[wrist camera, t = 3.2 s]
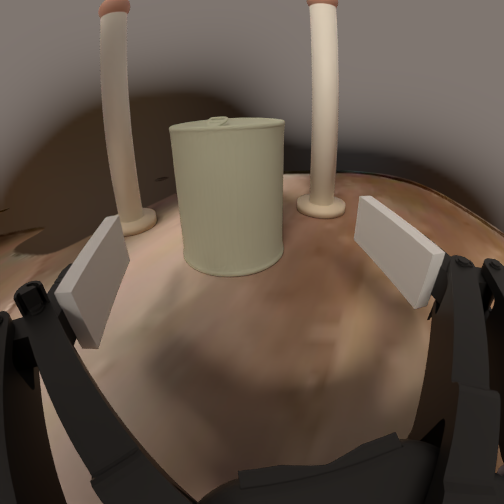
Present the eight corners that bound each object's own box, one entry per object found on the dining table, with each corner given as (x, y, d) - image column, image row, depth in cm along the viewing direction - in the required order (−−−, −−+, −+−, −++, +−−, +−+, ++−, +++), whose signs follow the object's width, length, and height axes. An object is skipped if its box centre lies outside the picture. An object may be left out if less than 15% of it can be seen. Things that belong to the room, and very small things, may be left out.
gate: (103, 238, 29) (81, -3, 15) (117, 218, 34) (99, 10, 20) (352, 217, 32) (356, -14, 18) (333, 200, 38) (335, 0, 24)
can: (169, 273, 23) (146, 125, 17) (199, 226, 31) (190, 116, 25) (281, 280, 22) (284, 117, 16) (284, 229, 30) (286, 112, 24)
